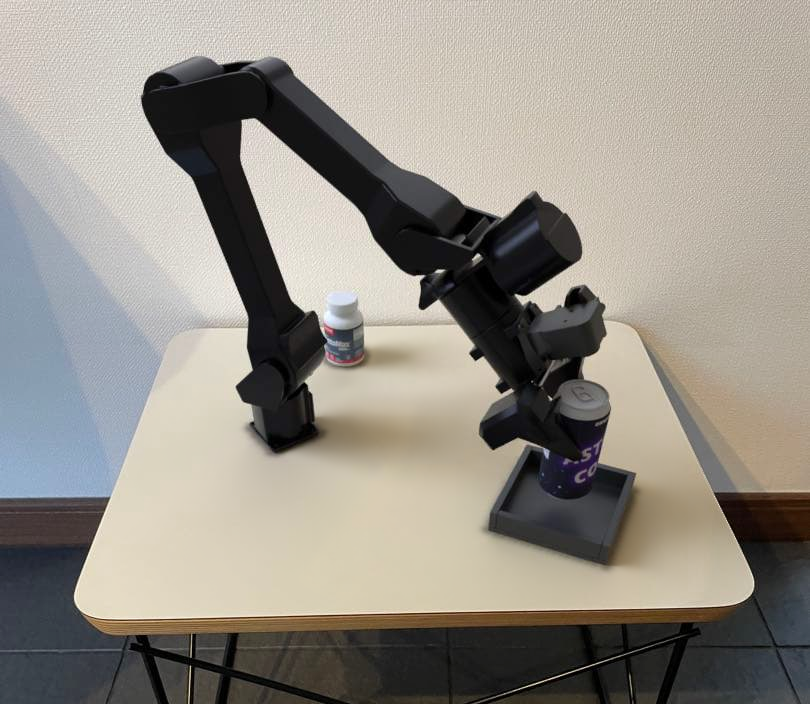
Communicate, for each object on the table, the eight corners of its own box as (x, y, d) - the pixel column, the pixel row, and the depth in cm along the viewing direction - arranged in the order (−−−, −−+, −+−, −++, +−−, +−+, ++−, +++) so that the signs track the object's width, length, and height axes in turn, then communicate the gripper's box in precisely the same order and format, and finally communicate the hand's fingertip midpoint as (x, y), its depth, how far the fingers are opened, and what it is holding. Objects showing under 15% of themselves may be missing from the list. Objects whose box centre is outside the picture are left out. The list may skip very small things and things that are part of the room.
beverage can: (552, 511, 79) (571, 416, 70) (528, 477, 83) (543, 382, 74) (600, 499, 80) (625, 404, 72) (574, 466, 84) (595, 372, 75)
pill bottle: (319, 361, 105) (313, 301, 98) (339, 343, 108) (335, 284, 102) (352, 371, 103) (349, 310, 97) (371, 353, 106) (369, 293, 100)
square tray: (487, 530, 81) (489, 512, 79) (524, 461, 89) (526, 443, 88) (604, 565, 78) (609, 547, 76) (631, 490, 86) (636, 472, 84)
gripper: (528, 322, 60) (636, 468, 65) (588, 231, 72) (676, 359, 77) (432, 383, 68) (535, 510, 73) (501, 291, 80) (585, 405, 85)
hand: (587, 442), depth 76 cm, fingers closed on beverage can, 5 cm apart
